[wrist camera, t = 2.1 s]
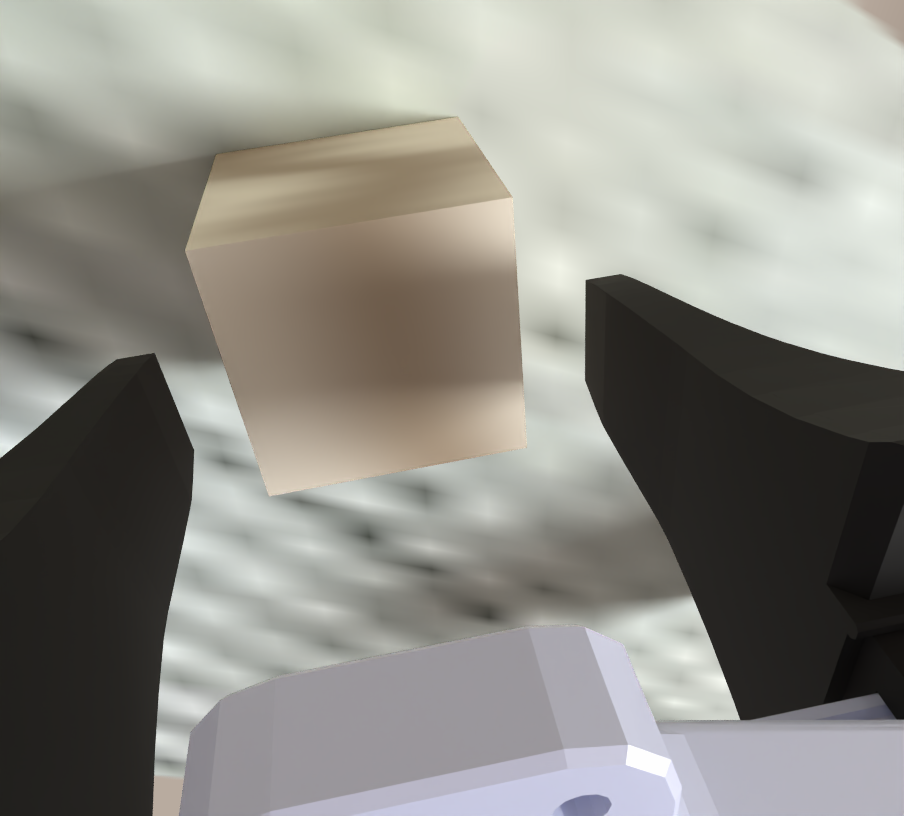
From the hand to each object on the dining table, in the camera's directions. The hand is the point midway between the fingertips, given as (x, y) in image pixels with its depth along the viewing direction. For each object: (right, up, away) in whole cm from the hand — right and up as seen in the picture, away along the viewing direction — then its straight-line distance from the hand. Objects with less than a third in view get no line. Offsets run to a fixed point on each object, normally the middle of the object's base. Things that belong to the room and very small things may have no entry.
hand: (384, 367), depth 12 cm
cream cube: (-1, +3, +4) cm, 5 cm away
